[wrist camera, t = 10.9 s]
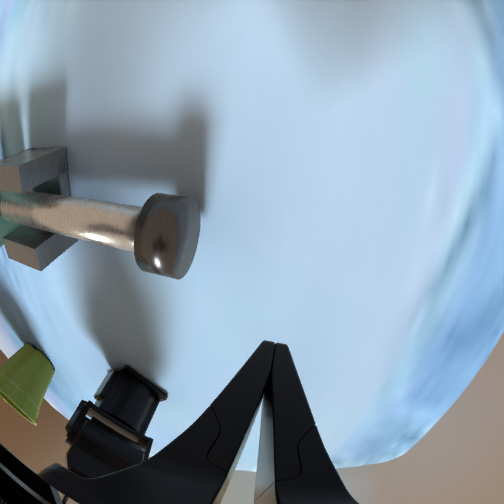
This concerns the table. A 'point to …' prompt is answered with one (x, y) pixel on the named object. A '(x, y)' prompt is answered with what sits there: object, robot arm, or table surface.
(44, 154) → the cradle rig
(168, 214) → the shaft
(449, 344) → the table surface
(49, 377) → the plant pot
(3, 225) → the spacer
